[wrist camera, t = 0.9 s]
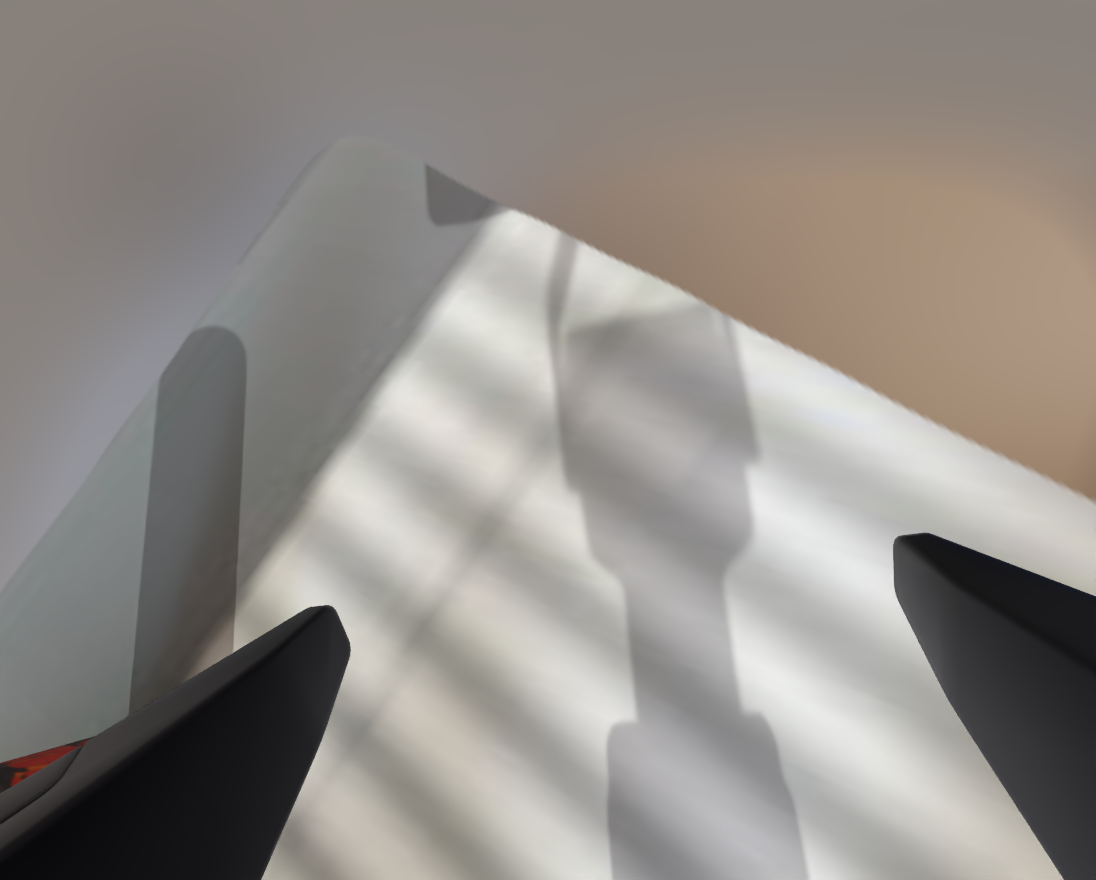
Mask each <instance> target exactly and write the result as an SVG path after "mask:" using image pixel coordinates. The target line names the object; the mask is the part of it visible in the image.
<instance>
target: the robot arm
mask: <svg viewBox="0 0 1096 880" xmlns="http://www.w3.org/2000/svg"><path fill="white" fill-rule="evenodd" d="M893 560H894V587H895V592H896V596H897V599H898V601H899V603H900V605H901V607H902V609H903V611H904V613H905V615H906V617H907V619H908V621H909V623H910V625H911V627H912V629H913V631H914V633H915V635H916V637H917V639H918V641H919V643H920V645H921V647H922V649H923V651H924V653H925V655H926V657H927V659H928V661H929V663H930V665H931V667H932V669H933V671H934V673H935V675H936V677H937V679H938V681H939V683H940V685H941V687H942V689H943V691H944V693H945V695H946V697H947V698H948V700H949V702H950V704H951V705H952V707H953V708H954V710H955V712H956V713H957V715H958V717H959V718H960V720H961V721H962V723H963V724H964V726H965V727H966V729H967V731H968V732H969V734H970V735H971V737H972V738H973V740H974V741H975V743H976V744H977V746H978V748H979V749H980V751H981V752H982V754H983V755H984V757H985V758H986V760H987V762H988V763H989V765H990V766H991V768H992V769H993V771H994V772H995V774H996V775H997V777H998V779H999V780H1000V782H1001V783H1002V785H1003V786H1004V788H1005V789H1006V791H1007V792H1008V794H1009V796H1010V797H1011V799H1012V800H1013V802H1014V803H1015V805H1016V806H1017V808H1018V809H1019V811H1020V813H1021V814H1022V816H1023V817H1024V819H1025V820H1026V822H1027V823H1028V825H1029V826H1030V828H1031V830H1032V831H1033V833H1034V834H1035V836H1036V837H1037V839H1038V840H1039V842H1040V843H1041V845H1042V847H1043V848H1044V850H1045V851H1046V853H1047V854H1048V856H1049V857H1050V859H1051V860H1052V862H1053V864H1054V865H1055V867H1056V868H1057V870H1058V871H1059V873H1060V874H1061V876H1062V877H1063V879H1064V880H1096V596H1093V595H1090V594H1088V593H1085V592H1083V591H1080V590H1077V589H1075V588H1072V587H1069V586H1067V585H1064V584H1062V583H1059V582H1056V581H1054V580H1051V579H1048V578H1046V577H1043V576H1041V575H1038V574H1035V573H1033V572H1030V571H1027V570H1025V569H1022V568H1020V567H1017V566H1014V565H1012V564H1009V563H1006V562H1004V561H1001V560H999V559H996V558H993V557H991V556H988V555H985V554H983V553H980V552H978V551H975V550H972V549H970V548H967V547H964V546H962V545H959V544H957V543H954V542H951V541H949V540H946V539H943V538H941V537H938V536H936V535H933V534H930V533H917V534H909V535H902V536H898V537H897V538H896V539H895V540H894V544H893ZM350 651H351V649H350V642H349V639H348V637H347V634H346V632H345V630H344V627H343V625H342V623H341V621H340V618H339V616H338V614H337V612H336V610H335V609H334V608H333V607H332V606H329V605H324V606H316V607H309V608H307V609H305V610H303V611H301V612H300V613H298V614H296V615H295V616H293V617H292V618H290V619H288V620H287V621H285V622H283V623H282V624H280V625H278V626H277V627H275V628H273V629H272V630H270V631H268V632H267V633H265V634H264V635H262V636H260V637H259V638H257V639H255V640H254V641H252V642H250V643H249V644H247V645H245V646H244V647H242V648H240V649H239V650H237V651H236V652H234V653H232V654H231V655H229V656H227V657H226V658H224V659H222V660H221V661H219V662H217V663H216V664H214V665H212V666H211V667H209V668H208V669H206V670H204V671H203V672H201V673H199V674H198V675H196V676H194V677H193V678H191V679H189V680H188V681H186V682H184V683H183V684H181V685H180V686H178V687H176V688H175V689H173V690H171V691H170V692H168V693H166V694H165V695H163V696H161V697H160V698H158V699H156V700H155V701H153V702H152V703H150V704H148V705H147V706H145V707H143V708H142V709H140V710H138V711H137V712H135V713H133V714H132V715H130V716H128V717H127V718H125V719H124V720H122V721H120V722H119V723H117V724H115V725H114V726H112V727H110V728H109V729H107V730H105V731H104V732H102V733H100V734H99V735H97V736H96V737H94V738H92V739H91V740H89V741H87V742H86V743H85V744H84V746H79V747H77V748H76V749H74V750H72V751H71V752H69V753H67V754H66V755H64V756H62V757H61V758H59V759H57V760H56V761H54V762H53V763H51V764H49V765H47V766H46V767H44V768H42V769H41V770H39V771H37V772H36V773H34V774H32V775H31V776H29V777H27V778H26V779H24V780H22V781H21V782H19V783H17V784H16V785H14V786H12V787H11V788H9V789H7V790H5V791H4V792H2V793H0V880H261V879H262V877H263V874H264V872H265V870H266V867H267V865H268V863H269V861H270V858H271V856H272V854H273V851H274V849H275V847H276V845H277V842H278V840H279V838H280V835H281V833H282V831H283V829H284V826H285V824H286V822H287V819H288V817H289V815H290V812H291V810H292V808H293V806H294V803H295V801H296V799H297V796H298V794H299V792H300V790H301V787H302V785H303V783H304V780H305V778H306V776H307V774H308V771H309V769H310V767H311V764H312V762H313V760H314V758H315V755H316V753H317V750H318V748H319V745H320V743H321V741H322V738H323V735H324V732H325V729H326V727H327V724H328V721H329V718H330V715H331V712H332V709H333V706H334V703H335V700H336V697H337V694H338V691H339V688H340V685H341V682H342V679H343V676H344V673H345V670H346V667H347V664H348V661H349V657H350Z"/></svg>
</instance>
